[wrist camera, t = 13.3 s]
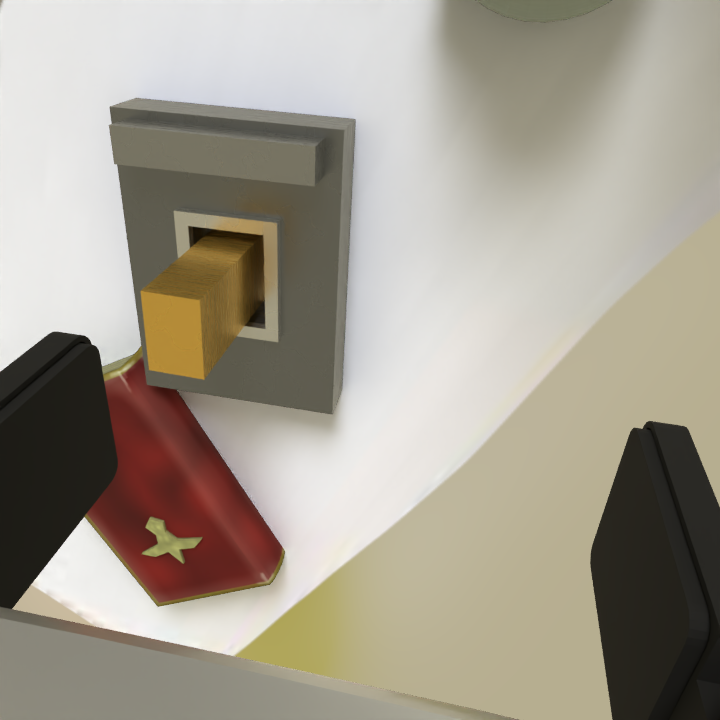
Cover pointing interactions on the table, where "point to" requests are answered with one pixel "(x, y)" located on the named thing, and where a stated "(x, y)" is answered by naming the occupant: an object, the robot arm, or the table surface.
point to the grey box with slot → (247, 215)
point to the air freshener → (542, 8)
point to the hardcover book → (176, 499)
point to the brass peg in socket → (203, 302)
